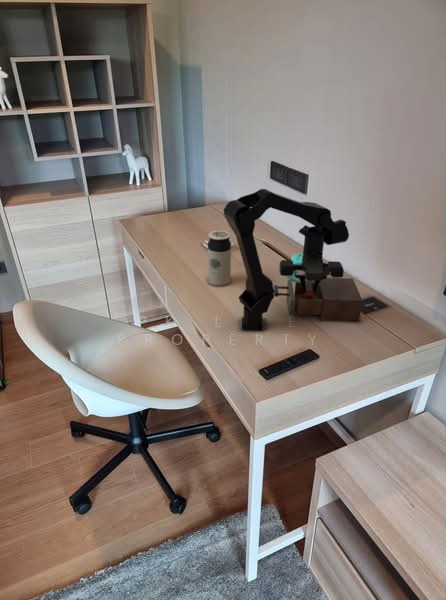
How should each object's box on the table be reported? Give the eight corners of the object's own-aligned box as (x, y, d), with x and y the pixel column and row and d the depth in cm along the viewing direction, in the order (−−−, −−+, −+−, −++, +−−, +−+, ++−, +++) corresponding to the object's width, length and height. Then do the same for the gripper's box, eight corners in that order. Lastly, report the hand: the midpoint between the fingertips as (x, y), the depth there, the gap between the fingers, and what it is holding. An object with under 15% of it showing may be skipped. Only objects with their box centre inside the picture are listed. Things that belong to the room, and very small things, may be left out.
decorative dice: (313, 274, 160) (316, 254, 156) (310, 283, 154) (312, 263, 150) (292, 271, 163) (294, 251, 159) (288, 280, 156) (289, 260, 152)
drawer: (273, 315, 134) (274, 299, 131) (272, 294, 145) (273, 279, 142) (323, 317, 133) (325, 300, 130) (317, 295, 144) (319, 280, 141)
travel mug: (218, 274, 160) (217, 228, 151) (234, 280, 156) (235, 233, 147) (204, 281, 155) (203, 235, 146) (220, 288, 151) (220, 240, 141)
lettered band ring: (243, 251, 175) (237, 239, 171) (223, 265, 174) (217, 253, 169) (222, 236, 189) (216, 225, 185) (204, 249, 187) (198, 238, 183)
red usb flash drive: (312, 299, 132) (313, 290, 131) (305, 299, 133) (306, 289, 131) (308, 286, 140) (310, 277, 138) (302, 286, 140) (303, 276, 138)
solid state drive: (388, 307, 140) (388, 305, 140) (365, 315, 136) (365, 313, 136) (372, 298, 146) (372, 296, 145) (350, 305, 142) (350, 303, 141)
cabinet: (320, 320, 133) (323, 299, 129) (314, 297, 145) (317, 277, 142) (358, 321, 132) (362, 300, 128) (349, 298, 145) (352, 278, 141)
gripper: (283, 257, 120) (279, 305, 128) (350, 259, 119) (342, 307, 127) (281, 242, 129) (277, 287, 137) (343, 243, 128) (336, 289, 136)
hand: (308, 293), depth 134 cm, fingers closed on red usb flash drive, 2 cm apart
